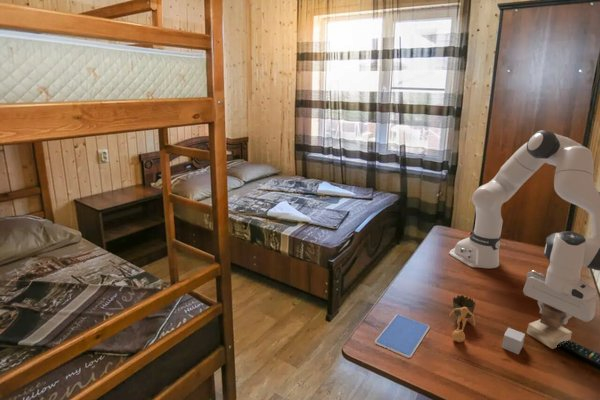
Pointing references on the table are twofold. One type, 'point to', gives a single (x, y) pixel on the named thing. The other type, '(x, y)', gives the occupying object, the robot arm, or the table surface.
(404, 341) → the tablet computer
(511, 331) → the grey painted cube
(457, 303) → the cup
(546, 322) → the walnut block
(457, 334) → the figurine
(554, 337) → the beech pedestal block
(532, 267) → the table surface
